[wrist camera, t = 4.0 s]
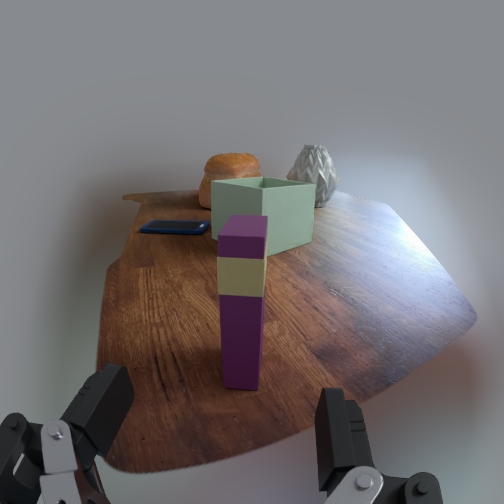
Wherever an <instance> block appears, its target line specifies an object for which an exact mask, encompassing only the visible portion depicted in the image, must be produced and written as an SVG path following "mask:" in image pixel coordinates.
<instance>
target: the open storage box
mask: <svg viewBox="0 0 504 504" xmlns="http://www.w3.org/2000/svg"><path fill="white" fill-rule="evenodd" d="M315 190H316V184H311V183H304V182H298V181H292V180H285V179H278V178H270V177H251V178H238V179H226V180H215V181H211V219H212V239H215V240H217V241H218V234H219V232H220V231H221V229H222V228H223V226H224V225H225V223H226V222H227V220H228V219H229V218H230V216H231V215H232V214H234V215H260V216H268V227H267V233H268V245H267V257H268V256H271V255H274V254H277V253H280V252H283V251H286V250H289V249H292V248H295V247H298V246H301V245H304V244H307V243H310V242H312V231H313V219H314V205H315Z"/></svg>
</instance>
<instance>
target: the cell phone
mask: <svg viewBox="0 0 504 504" xmlns="http://www.w3.org/2000/svg"><path fill="white" fill-rule="evenodd" d="M209 224H210V223H209V222H208V221H179V220H153V221H150V222H149V223H147V224H146V225H144V226H143V227H141V228H140V231H141V232H151V233H180V234H202V233H203V232H204V231H205V230H206V229H207V227H208V226H209Z"/></svg>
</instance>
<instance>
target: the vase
mask: <svg viewBox="0 0 504 504" xmlns="http://www.w3.org/2000/svg"><path fill="white" fill-rule="evenodd" d="M287 179H288V180H292V181H298V182H304V183H311V184H316V190H315V205H314V207H316V208H318V207H324V206H326V204H327V201H329V200H330V198H331V197H332V196H333V194H334V192H335V190H336V188H337V186H338V184H339V183H340V179H339V176H338V174H337V171H336V170H335V169H334V165H333V162H332V159H331V157H330V156H329V155H328V151H327V150H326V147H325V146H316V145H304V148H303V149H302V151H301V153H300V154H299V155H298V156H297V159H296V161H295V163H294V166H293V167H292V168H291V170H290V171H289V173H288V175H287Z"/></svg>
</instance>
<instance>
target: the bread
mask: <svg viewBox="0 0 504 504" xmlns="http://www.w3.org/2000/svg"><path fill="white" fill-rule="evenodd" d="M259 168H260V166H259V162H258V160H257V159H256V158H255V157H254V156H253V155H250V154H241V153H229V154H228V153H227V154H220V155H215V156H213V157H211V159H209V161H208V162H207V163H206V166H205V169H204V171H205V176H204V178H203V180H202V182H201V184H200V188H199V202H200V205H201V206H202V207H204V208H210V209H211V181H215V180H226V179H238V178H251V177H261V175H260V173H259Z"/></svg>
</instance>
